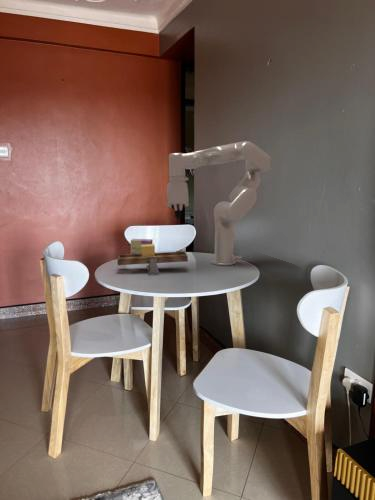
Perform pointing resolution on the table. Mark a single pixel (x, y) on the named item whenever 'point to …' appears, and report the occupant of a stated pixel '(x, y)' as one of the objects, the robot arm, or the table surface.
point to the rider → (148, 250)
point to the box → (139, 245)
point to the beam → (161, 257)
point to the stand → (153, 267)
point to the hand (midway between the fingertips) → (178, 218)
